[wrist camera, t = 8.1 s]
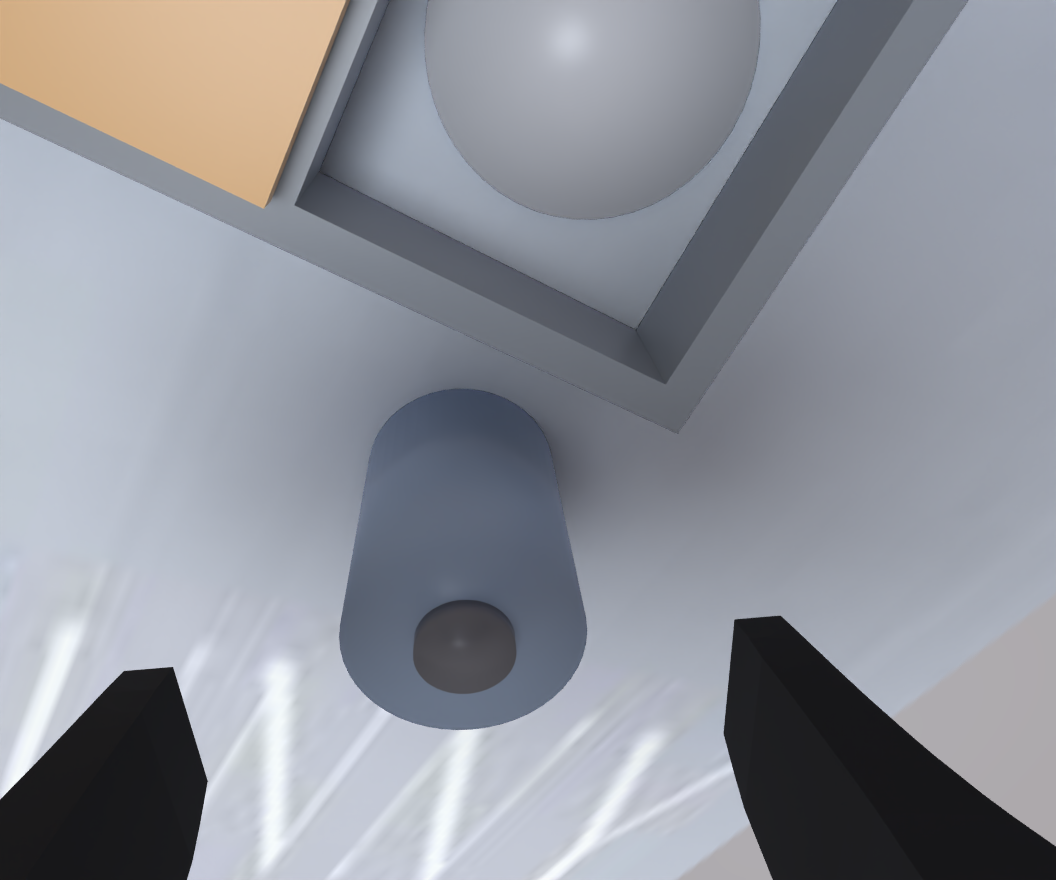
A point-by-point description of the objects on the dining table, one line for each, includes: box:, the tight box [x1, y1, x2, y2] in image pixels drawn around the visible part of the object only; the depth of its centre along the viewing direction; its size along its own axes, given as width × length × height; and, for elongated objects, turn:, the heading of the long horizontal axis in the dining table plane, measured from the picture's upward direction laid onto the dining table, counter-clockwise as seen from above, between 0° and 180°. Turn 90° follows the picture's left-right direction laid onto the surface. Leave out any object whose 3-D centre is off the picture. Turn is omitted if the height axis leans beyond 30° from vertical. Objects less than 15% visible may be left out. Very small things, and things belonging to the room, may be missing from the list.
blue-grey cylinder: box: [339, 389, 587, 730], centre depth 18 cm, size 4×4×6 cm
